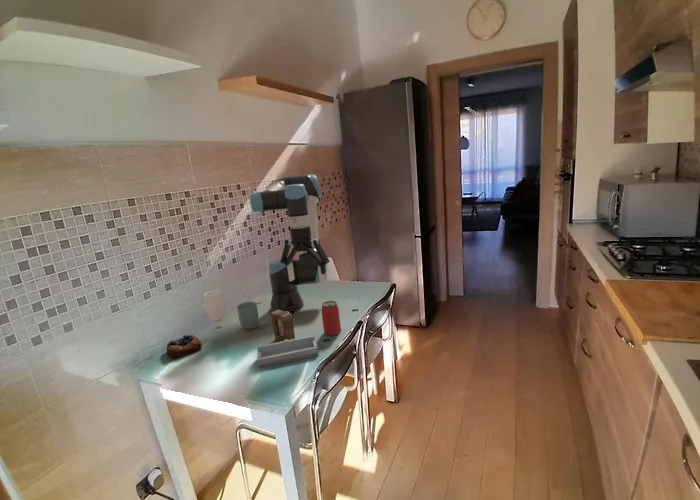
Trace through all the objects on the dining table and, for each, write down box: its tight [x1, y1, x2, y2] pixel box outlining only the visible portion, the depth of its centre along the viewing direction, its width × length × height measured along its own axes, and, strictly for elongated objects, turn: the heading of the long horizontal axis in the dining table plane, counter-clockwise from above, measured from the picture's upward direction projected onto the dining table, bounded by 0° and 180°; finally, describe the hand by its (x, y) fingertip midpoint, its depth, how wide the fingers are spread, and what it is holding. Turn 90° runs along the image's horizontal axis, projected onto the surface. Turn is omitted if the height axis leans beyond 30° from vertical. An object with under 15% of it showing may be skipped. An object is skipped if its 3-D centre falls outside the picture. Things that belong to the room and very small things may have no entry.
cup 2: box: [236, 301, 260, 330], centre depth 154 cm, size 8×8×10 cm
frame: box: [270, 310, 296, 342], centre depth 140 cm, size 8×4×11 cm, turn 49°
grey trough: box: [256, 334, 320, 369], centre depth 128 cm, size 20×7×5 cm, turn 104°
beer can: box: [321, 300, 342, 337], centre depth 142 cm, size 7×7×12 cm
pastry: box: [166, 334, 203, 360], centre depth 140 cm, size 11×12×6 cm
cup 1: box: [203, 289, 226, 323], centre depth 142 cm, size 7×7×21 cm
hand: (306, 281), depth 142 cm, fingers open, 13 cm apart
